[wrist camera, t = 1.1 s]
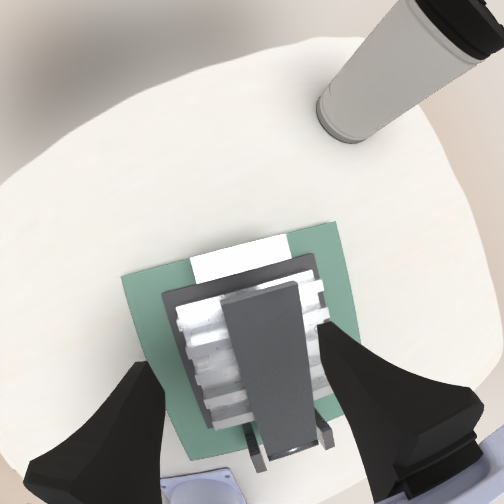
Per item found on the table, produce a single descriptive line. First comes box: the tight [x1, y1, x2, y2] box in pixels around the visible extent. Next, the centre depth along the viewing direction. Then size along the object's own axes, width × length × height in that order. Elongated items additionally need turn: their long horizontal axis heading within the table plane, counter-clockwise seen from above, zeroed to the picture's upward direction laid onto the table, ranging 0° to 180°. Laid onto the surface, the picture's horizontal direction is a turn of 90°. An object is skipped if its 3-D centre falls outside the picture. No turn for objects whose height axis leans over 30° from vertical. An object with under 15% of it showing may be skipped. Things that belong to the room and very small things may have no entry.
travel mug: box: [317, 0, 504, 143], centre depth 16 cm, size 6×7×20 cm
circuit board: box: [121, 221, 361, 461], centre depth 23 cm, size 18×18×2 cm
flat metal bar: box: [219, 280, 319, 462], centre depth 17 cm, size 14×4×1 cm, turn 15°
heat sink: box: [176, 234, 335, 473], centre depth 21 cm, size 17×10×5 cm, turn 15°
